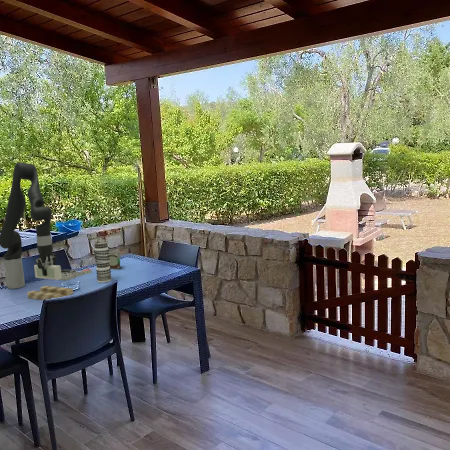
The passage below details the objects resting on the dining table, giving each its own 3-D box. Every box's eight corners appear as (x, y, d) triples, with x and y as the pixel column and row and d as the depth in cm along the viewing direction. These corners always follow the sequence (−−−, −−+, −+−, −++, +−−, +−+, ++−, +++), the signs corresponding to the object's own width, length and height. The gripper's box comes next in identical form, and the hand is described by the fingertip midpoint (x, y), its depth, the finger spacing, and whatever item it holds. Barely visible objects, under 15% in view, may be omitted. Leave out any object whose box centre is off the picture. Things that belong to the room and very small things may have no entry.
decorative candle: (95, 283, 268) (91, 242, 264) (97, 279, 277) (93, 239, 273) (111, 281, 270) (107, 240, 266) (112, 277, 279) (109, 237, 275)
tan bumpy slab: (27, 298, 246) (27, 292, 246) (46, 290, 258) (45, 285, 257) (55, 301, 238) (55, 295, 237) (73, 293, 250) (72, 288, 249)
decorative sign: (63, 278, 276) (46, 273, 288) (63, 282, 276) (46, 277, 289) (94, 269, 292) (76, 266, 305) (94, 273, 293) (77, 269, 305)
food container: (126, 267, 302) (124, 253, 300) (119, 270, 297) (117, 255, 295) (112, 266, 308) (111, 251, 307) (106, 268, 303) (104, 253, 302)
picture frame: (34, 277, 248) (33, 265, 247) (40, 276, 251) (38, 263, 250) (57, 280, 241) (55, 267, 240) (62, 278, 245) (60, 265, 244)
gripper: (39, 246, 235) (43, 278, 238) (59, 241, 248) (63, 271, 251) (29, 246, 238) (32, 277, 241) (49, 240, 251) (52, 270, 254)
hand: (48, 274), depth 246 cm, fingers closed on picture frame, 3 cm apart
